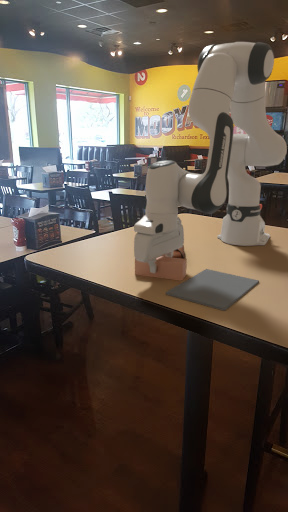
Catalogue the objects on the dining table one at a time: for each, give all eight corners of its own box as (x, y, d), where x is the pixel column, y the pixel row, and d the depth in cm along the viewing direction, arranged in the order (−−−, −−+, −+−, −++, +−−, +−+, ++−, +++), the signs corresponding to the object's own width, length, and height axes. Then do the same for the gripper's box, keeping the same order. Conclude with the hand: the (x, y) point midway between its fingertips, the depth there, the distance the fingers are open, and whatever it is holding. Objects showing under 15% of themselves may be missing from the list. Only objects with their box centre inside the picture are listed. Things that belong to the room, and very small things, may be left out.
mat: (206, 270, 112) (206, 268, 112) (258, 282, 103) (259, 280, 103) (165, 294, 95) (165, 292, 95) (224, 310, 86) (224, 308, 86)
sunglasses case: (158, 244, 133) (171, 230, 131) (173, 257, 134) (186, 243, 132) (156, 260, 116) (171, 244, 114) (174, 274, 117) (188, 259, 115)
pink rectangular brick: (140, 269, 113) (140, 253, 112) (185, 275, 109) (186, 259, 107) (134, 274, 109) (134, 258, 108) (182, 280, 105) (182, 263, 103)
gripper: (171, 214, 114) (170, 258, 118) (129, 226, 98) (130, 276, 102) (190, 216, 111) (188, 261, 115) (149, 230, 95) (149, 281, 99)
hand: (160, 269), depth 108 cm, fingers closed on pink rectangular brick, 5 cm apart
